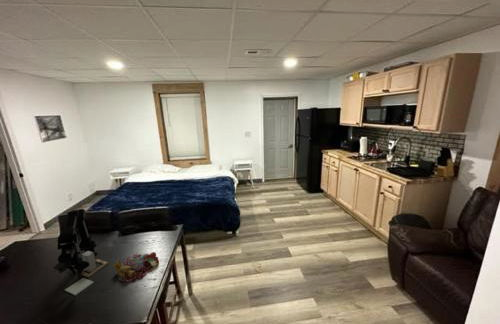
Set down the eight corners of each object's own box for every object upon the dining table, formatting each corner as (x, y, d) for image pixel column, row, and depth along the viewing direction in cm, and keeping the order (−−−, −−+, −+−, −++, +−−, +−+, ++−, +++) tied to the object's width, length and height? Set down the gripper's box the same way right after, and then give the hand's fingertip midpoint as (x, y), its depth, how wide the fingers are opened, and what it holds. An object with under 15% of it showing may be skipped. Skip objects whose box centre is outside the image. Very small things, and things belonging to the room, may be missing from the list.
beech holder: (76, 272, 135) (76, 271, 134) (97, 260, 146) (96, 258, 146) (88, 277, 130) (87, 275, 130) (108, 264, 142) (108, 262, 142)
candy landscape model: (131, 287, 122) (129, 274, 120) (107, 275, 132) (105, 263, 130) (165, 261, 144) (163, 249, 142) (142, 252, 154) (140, 241, 152)
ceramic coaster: (64, 290, 120) (64, 289, 120) (83, 278, 130) (83, 277, 129) (75, 295, 117) (75, 294, 117) (93, 282, 126) (93, 281, 126)
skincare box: (84, 270, 136) (80, 254, 134) (91, 266, 140) (87, 250, 138) (90, 272, 134) (86, 256, 132) (97, 268, 138) (93, 252, 136)
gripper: (44, 257, 114) (51, 281, 118) (64, 265, 108) (70, 290, 111) (67, 246, 124) (73, 268, 128) (87, 252, 118) (92, 276, 121)
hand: (77, 275), depth 122 cm, fingers open, 4 cm apart
